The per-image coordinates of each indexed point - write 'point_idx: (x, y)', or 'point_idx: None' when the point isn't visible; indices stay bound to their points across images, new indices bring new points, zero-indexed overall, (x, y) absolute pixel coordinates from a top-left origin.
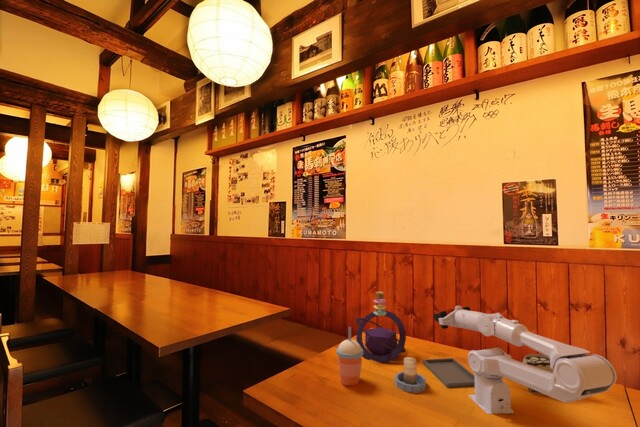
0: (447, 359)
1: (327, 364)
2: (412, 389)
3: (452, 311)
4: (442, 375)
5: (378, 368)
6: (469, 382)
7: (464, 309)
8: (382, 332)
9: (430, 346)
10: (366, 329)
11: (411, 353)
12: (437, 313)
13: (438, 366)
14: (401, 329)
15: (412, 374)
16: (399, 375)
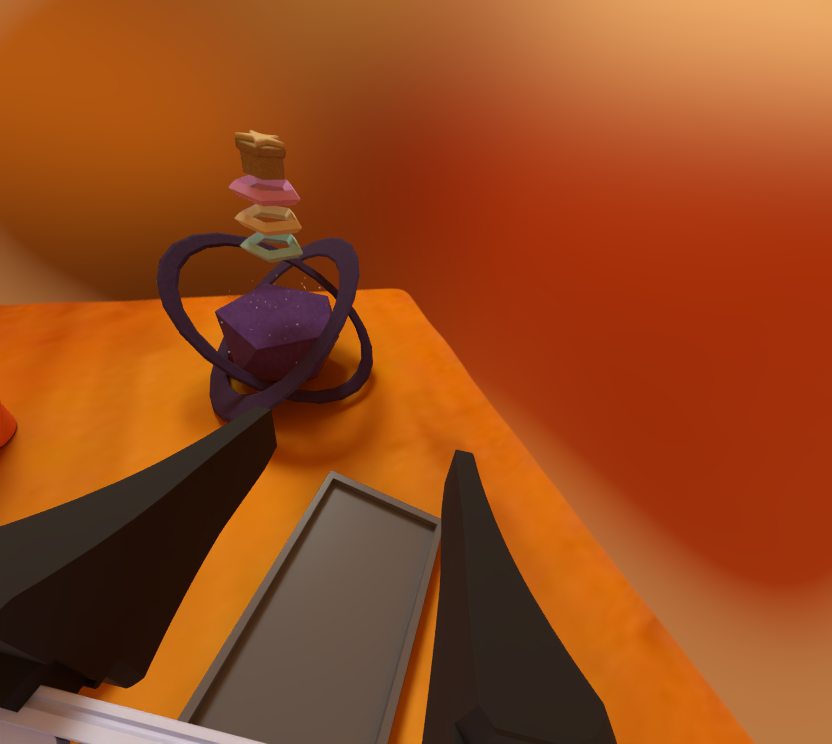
0: (417, 516)
1: (85, 335)
2: None
3: (454, 462)
4: (281, 611)
5: (172, 423)
6: None
7: (474, 725)
8: (287, 316)
9: (463, 407)
10: (268, 284)
11: (370, 408)
12: (203, 446)
13: (348, 532)
14: (323, 339)
15: None
16: None
